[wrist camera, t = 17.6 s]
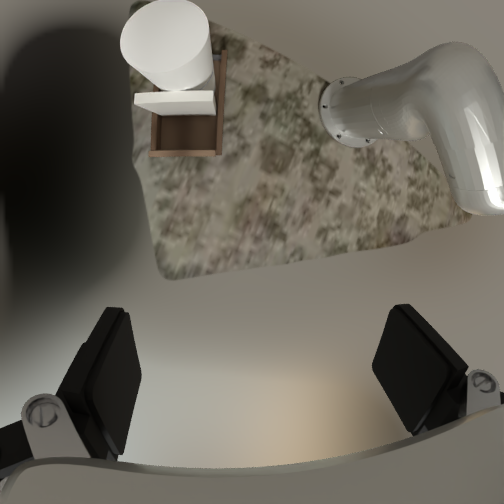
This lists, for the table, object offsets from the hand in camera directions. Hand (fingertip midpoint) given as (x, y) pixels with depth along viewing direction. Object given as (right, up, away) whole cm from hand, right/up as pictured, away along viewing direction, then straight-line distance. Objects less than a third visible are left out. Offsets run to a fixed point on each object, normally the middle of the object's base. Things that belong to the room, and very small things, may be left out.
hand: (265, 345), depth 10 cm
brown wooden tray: (-10, +27, +32) cm, 43 cm away
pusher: (-10, +25, +32) cm, 42 cm away
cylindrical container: (-10, +29, +31) cm, 43 cm away
